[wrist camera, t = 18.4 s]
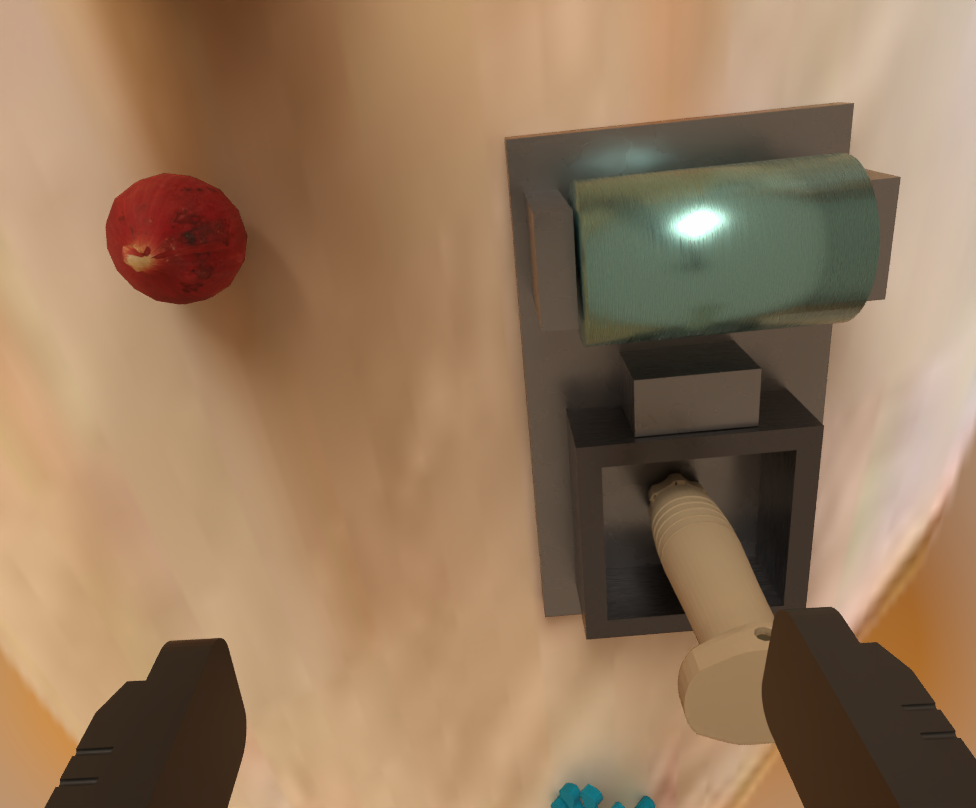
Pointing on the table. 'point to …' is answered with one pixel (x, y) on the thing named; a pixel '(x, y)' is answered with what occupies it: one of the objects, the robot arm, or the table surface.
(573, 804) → the teal lobed piece
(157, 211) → the onion
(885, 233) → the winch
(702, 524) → the handle
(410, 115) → the table surface
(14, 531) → the table surface
